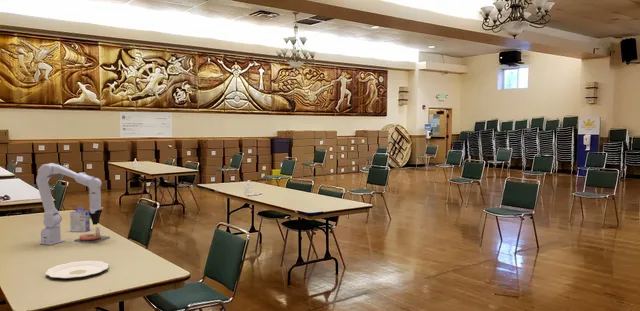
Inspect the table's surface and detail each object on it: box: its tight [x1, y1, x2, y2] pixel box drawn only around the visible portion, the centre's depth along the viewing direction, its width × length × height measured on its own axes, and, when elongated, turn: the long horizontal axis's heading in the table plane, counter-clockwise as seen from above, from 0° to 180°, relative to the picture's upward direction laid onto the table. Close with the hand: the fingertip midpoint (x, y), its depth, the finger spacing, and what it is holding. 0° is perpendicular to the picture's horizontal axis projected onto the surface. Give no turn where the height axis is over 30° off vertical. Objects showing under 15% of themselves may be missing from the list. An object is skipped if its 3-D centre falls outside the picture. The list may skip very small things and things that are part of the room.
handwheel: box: [78, 226, 102, 240], centre depth 273 cm, size 11×11×6 cm
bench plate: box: [73, 235, 111, 244], centre depth 274 cm, size 13×13×1 cm
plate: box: [44, 260, 110, 280], centre depth 214 cm, size 25×25×2 cm
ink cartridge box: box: [69, 206, 91, 233], centre depth 295 cm, size 10×6×14 cm, turn 89°
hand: (95, 223), depth 269 cm, fingers open, 3 cm apart
